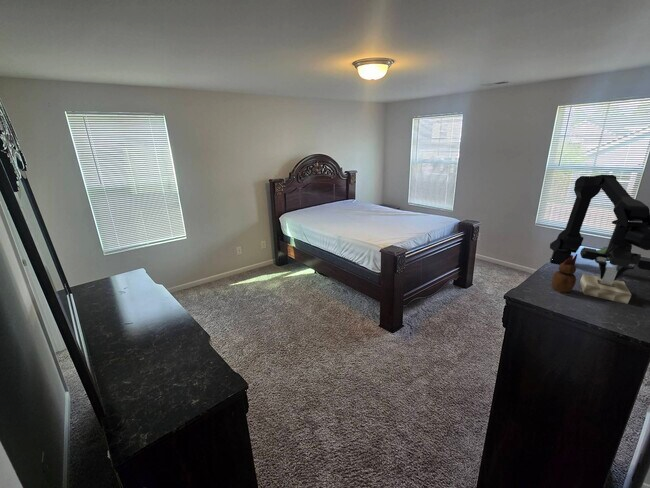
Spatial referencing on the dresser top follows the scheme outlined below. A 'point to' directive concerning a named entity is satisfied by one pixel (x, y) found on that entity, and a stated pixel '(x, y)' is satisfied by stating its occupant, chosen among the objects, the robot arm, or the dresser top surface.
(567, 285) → the wooden figurine
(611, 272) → the pin
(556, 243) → the robot arm
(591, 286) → the hole block
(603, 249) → the decorative artifact
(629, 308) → the dresser top surface
